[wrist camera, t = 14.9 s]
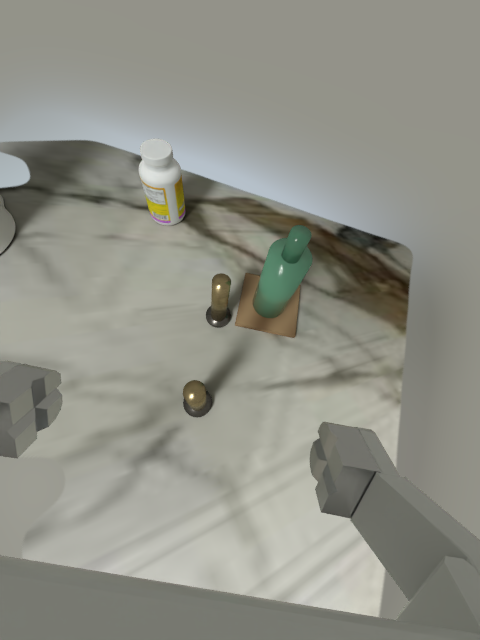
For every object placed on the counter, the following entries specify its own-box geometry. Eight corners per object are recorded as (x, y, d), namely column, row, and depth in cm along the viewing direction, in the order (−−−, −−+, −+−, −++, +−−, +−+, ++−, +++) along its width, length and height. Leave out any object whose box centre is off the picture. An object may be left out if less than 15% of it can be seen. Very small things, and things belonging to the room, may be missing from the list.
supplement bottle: (177, 197, 53) (169, 130, 41) (191, 221, 51) (186, 157, 39) (145, 206, 51) (126, 138, 39) (157, 231, 49) (142, 168, 37)
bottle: (250, 314, 44) (273, 247, 28) (255, 286, 46) (279, 210, 31) (283, 321, 44) (324, 258, 28) (286, 292, 46) (326, 220, 31)
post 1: (180, 414, 37) (170, 407, 27) (187, 386, 39) (180, 369, 29) (208, 419, 37) (208, 414, 27) (214, 391, 39) (216, 377, 29)
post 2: (203, 324, 43) (202, 291, 33) (209, 303, 45) (209, 265, 35) (227, 329, 43) (234, 298, 33) (232, 308, 45) (239, 272, 35)
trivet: (234, 325, 44) (235, 323, 43) (245, 275, 48) (245, 272, 47) (293, 337, 44) (295, 336, 43) (298, 286, 48) (300, 284, 47)
